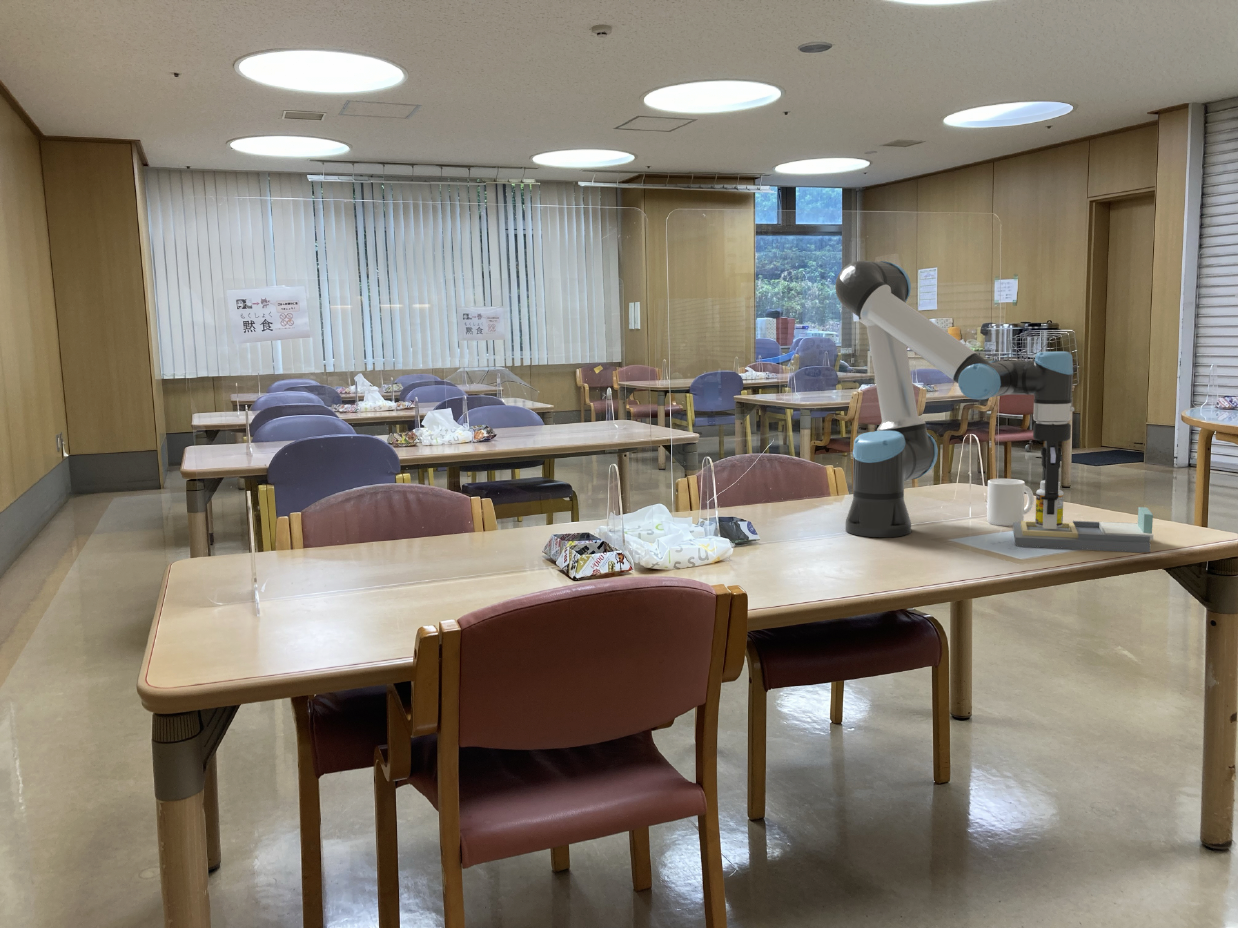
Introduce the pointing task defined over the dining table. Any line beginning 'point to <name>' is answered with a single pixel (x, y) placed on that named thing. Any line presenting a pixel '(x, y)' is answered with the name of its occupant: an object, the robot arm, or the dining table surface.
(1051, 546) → the housing
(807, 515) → the dining table surface
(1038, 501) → the supplement bottle
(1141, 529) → the cover
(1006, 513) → the mug
